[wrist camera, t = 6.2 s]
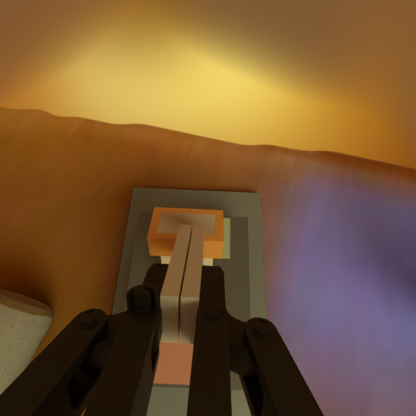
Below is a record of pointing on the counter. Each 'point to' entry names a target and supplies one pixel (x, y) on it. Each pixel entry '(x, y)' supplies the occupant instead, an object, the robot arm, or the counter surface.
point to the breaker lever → (169, 226)
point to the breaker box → (230, 263)
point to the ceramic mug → (20, 333)
